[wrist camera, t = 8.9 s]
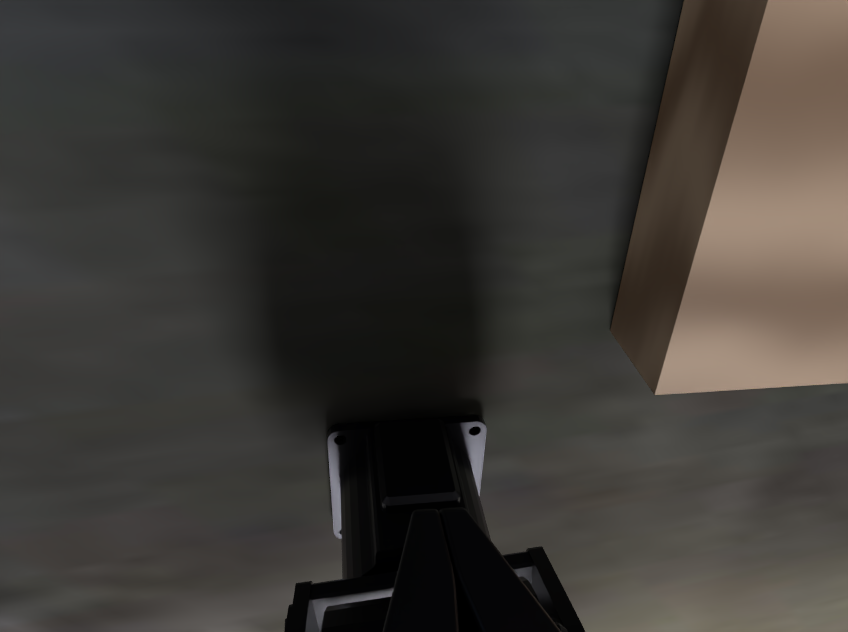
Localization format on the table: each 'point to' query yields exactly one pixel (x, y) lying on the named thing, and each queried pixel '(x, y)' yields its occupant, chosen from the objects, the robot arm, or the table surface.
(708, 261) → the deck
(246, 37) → the table surface
